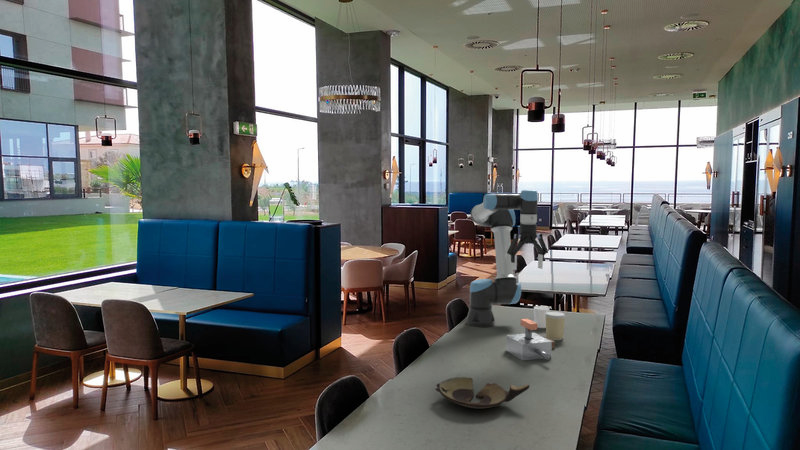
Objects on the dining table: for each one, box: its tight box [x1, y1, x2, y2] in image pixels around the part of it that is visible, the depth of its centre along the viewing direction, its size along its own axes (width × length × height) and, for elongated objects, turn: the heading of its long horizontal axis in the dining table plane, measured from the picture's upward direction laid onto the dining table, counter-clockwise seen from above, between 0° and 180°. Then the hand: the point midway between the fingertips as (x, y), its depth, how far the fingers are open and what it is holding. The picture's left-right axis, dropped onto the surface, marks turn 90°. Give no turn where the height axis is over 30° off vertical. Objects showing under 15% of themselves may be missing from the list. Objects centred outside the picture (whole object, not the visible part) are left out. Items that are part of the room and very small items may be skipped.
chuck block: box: [505, 332, 553, 362], centre depth 231 cm, size 23×14×7 cm, turn 17°
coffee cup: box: [545, 311, 566, 341], centre depth 259 cm, size 9×9×12 cm
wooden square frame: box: [543, 336, 556, 349], centre depth 246 cm, size 8×8×3 cm
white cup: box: [533, 305, 550, 329], centre depth 280 cm, size 8×8×10 cm
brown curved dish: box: [435, 376, 530, 410], centre depth 181 cm, size 22×30×8 cm
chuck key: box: [520, 318, 538, 340], centre depth 234 cm, size 3×8×12 cm, turn 18°
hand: (527, 269), depth 250 cm, fingers open, 13 cm apart
